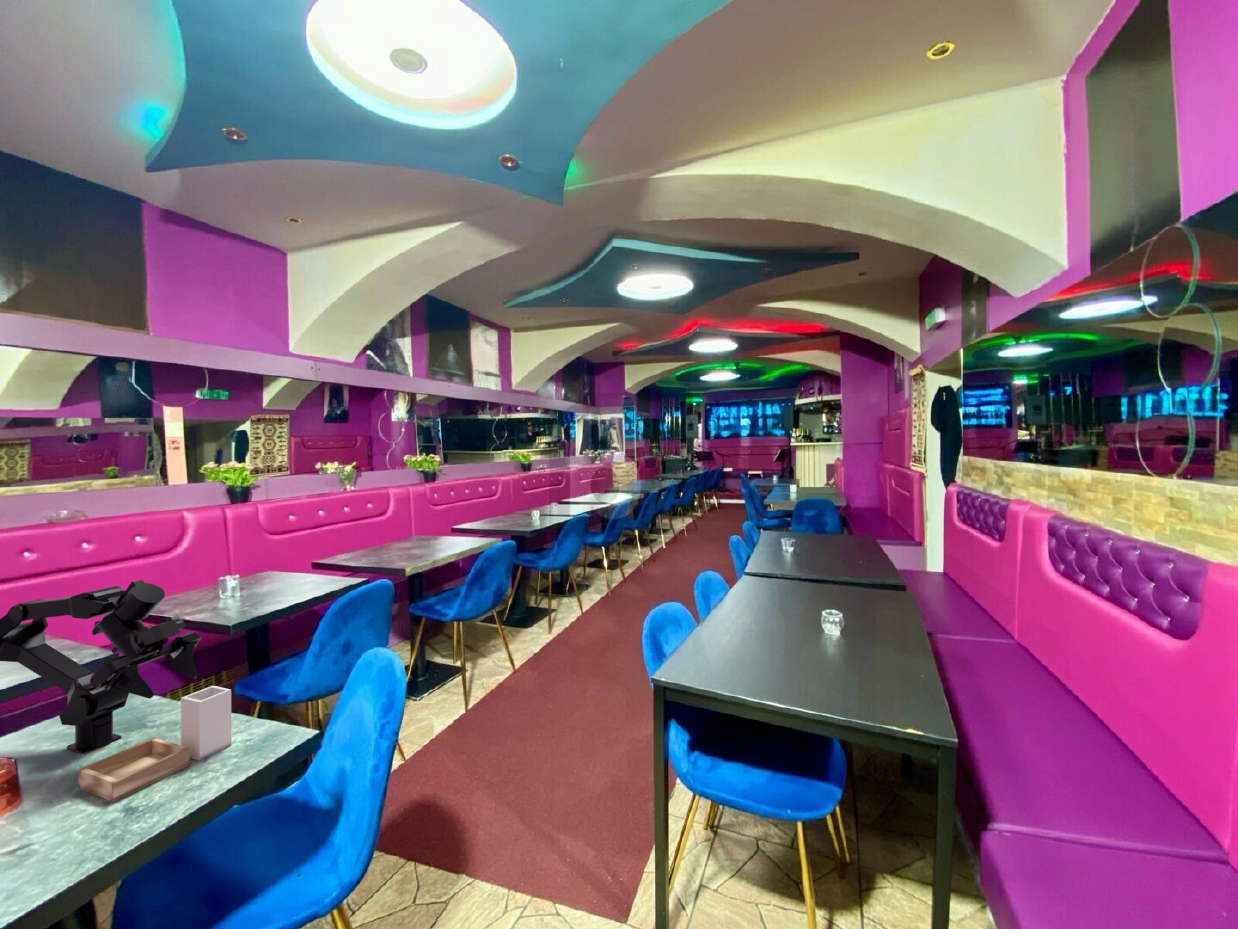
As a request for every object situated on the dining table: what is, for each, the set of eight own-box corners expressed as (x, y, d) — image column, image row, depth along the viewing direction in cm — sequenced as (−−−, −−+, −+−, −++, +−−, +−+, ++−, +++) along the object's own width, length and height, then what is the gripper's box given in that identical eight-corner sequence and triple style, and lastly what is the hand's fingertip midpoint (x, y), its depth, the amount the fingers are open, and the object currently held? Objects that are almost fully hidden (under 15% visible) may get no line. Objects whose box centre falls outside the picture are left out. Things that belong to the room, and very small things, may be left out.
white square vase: (181, 755, 102) (181, 697, 102) (213, 739, 108) (213, 685, 108) (199, 760, 100) (199, 702, 100) (231, 744, 106) (231, 689, 106)
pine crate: (78, 788, 92) (78, 769, 92) (154, 754, 103) (154, 737, 103) (114, 802, 88) (114, 783, 88) (189, 765, 99) (189, 748, 99)
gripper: (102, 622, 96) (152, 680, 95) (193, 597, 115) (236, 645, 114) (67, 661, 97) (116, 719, 96) (163, 629, 116) (206, 677, 115)
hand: (174, 686), depth 105 cm, fingers open, 9 cm apart
